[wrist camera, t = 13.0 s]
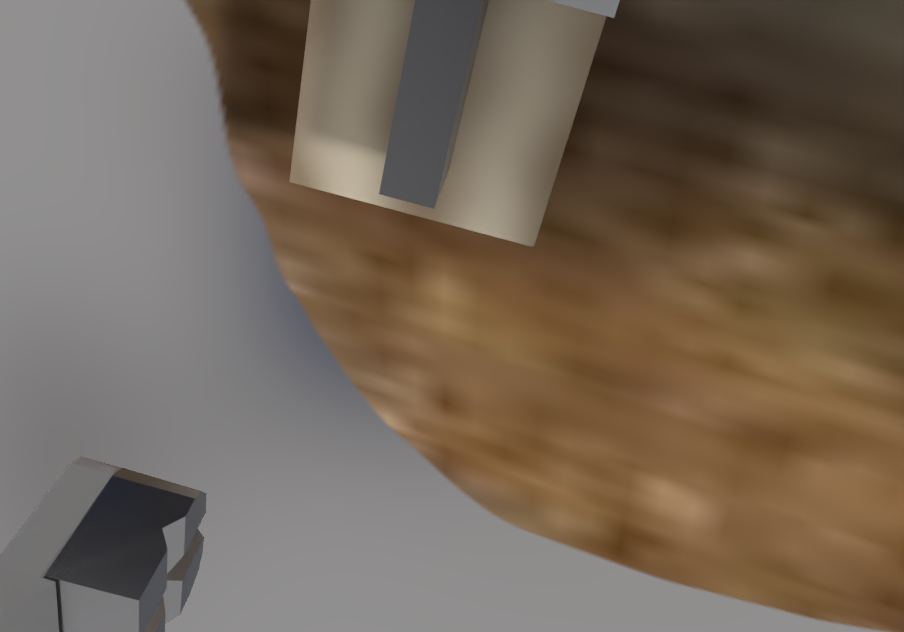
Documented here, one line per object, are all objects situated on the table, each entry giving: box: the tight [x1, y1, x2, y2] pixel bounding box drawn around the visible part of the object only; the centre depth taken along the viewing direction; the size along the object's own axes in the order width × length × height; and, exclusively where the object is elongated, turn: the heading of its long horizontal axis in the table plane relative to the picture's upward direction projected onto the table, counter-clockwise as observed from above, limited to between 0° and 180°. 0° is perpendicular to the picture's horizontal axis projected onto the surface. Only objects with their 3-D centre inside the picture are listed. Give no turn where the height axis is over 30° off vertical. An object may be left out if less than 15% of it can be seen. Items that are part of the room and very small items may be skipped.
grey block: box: [379, 0, 620, 209], centre depth 34 cm, size 12×10×4 cm
